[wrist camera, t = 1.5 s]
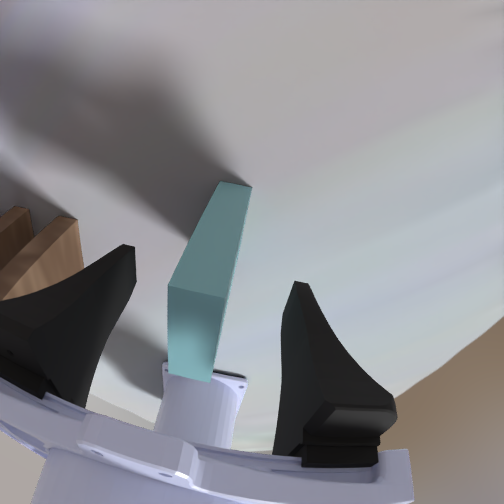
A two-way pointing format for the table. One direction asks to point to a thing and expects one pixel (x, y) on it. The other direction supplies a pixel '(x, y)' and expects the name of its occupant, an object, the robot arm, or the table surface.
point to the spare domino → (205, 283)
